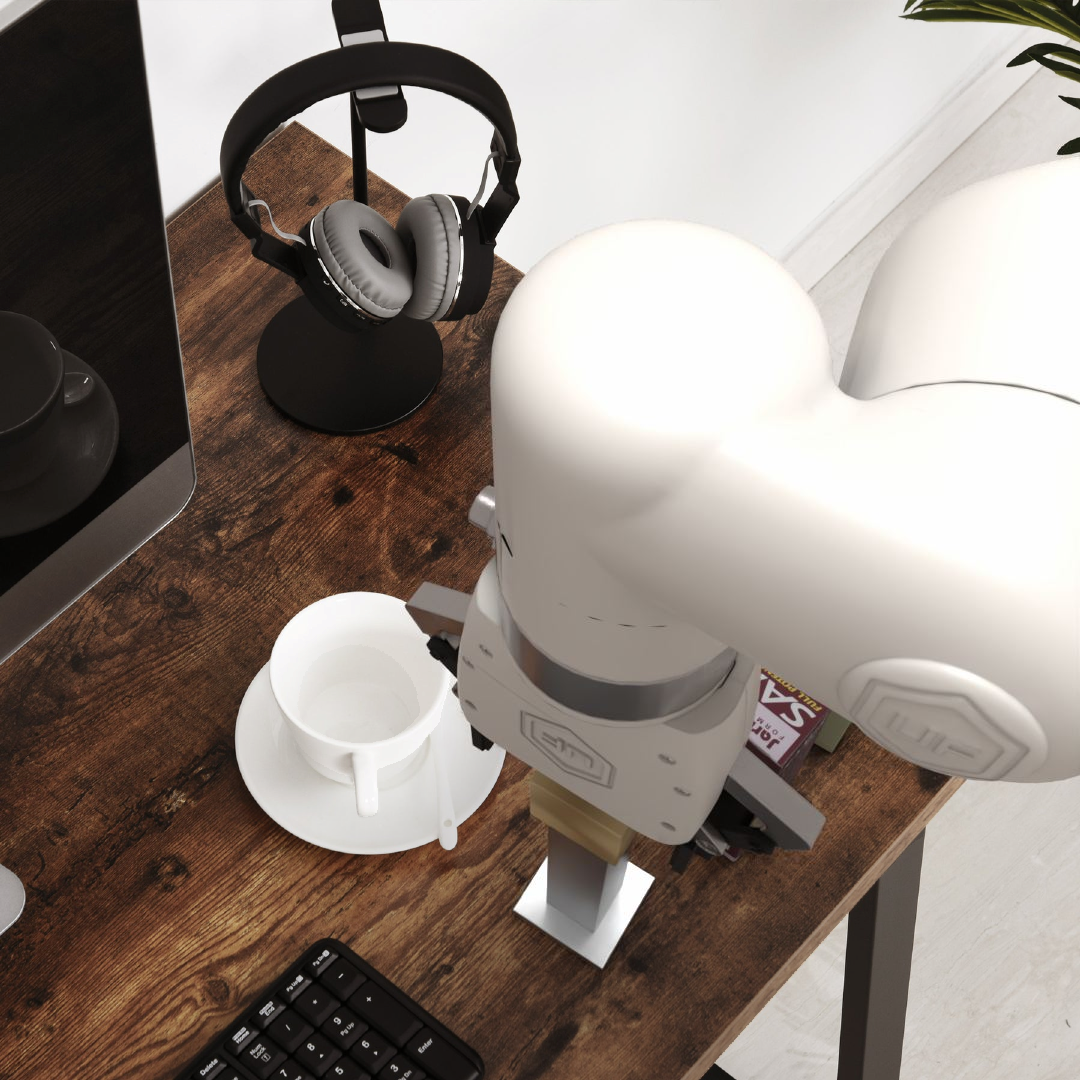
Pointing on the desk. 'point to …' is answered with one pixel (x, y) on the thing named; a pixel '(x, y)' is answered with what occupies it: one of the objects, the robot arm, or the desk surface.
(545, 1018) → the desk surface
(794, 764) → the supplement box
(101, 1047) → the desk surface
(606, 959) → the stand
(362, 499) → the desk surface
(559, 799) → the block
